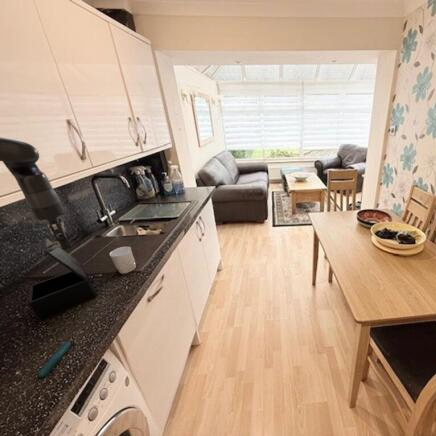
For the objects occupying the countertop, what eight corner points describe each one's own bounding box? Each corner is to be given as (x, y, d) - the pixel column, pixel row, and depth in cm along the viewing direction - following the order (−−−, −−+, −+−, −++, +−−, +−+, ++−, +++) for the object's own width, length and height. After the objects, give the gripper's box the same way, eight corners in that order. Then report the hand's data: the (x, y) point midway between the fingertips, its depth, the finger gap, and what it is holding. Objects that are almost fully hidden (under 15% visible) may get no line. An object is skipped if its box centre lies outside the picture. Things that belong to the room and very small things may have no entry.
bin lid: (43, 252, 78) (59, 242, 80) (43, 239, 87) (58, 230, 89) (85, 280, 88) (98, 270, 91) (81, 266, 97) (93, 257, 99)
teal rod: (47, 377, 65) (40, 373, 64) (41, 380, 65) (34, 375, 64) (74, 343, 74) (69, 339, 73) (69, 345, 74) (63, 341, 74)
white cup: (139, 269, 109) (132, 250, 104) (119, 277, 104) (111, 258, 99) (135, 262, 114) (128, 244, 110) (116, 269, 109) (107, 251, 105)
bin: (41, 322, 83) (28, 303, 79) (41, 303, 91) (29, 285, 88) (96, 298, 93) (86, 280, 89) (91, 283, 101) (83, 266, 97)
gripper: (30, 201, 82) (52, 241, 89) (28, 212, 73) (53, 256, 80) (58, 195, 87) (77, 234, 94) (60, 205, 77) (81, 247, 84)
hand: (66, 244), depth 87 cm, fingers open, 8 cm apart
